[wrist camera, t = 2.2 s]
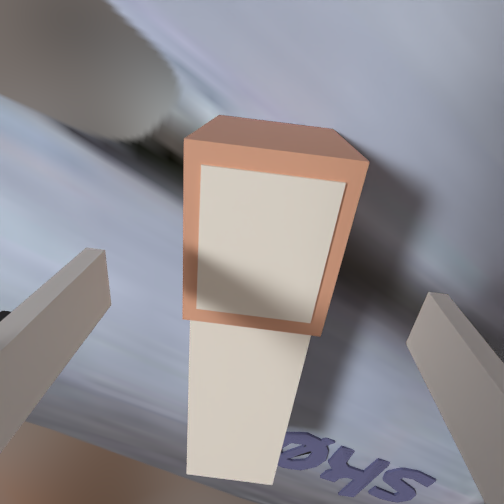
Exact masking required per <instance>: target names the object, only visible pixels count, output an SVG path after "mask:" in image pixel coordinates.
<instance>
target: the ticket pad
mask: <svg viewBox="0 0 504 504" xmlns="http://www.w3.org/2000/svg"><path fill="white" fill-rule="evenodd" d="M310 338H311V335H304V334H296V333H288V332H280V331H272V330H264V329H256V328H248V327H240V326H233V325H225V324H217V323H209V322H201V321H193V320H190V347H189V392H188V438H187V474H190V475H198V476H206V477H214V478H222V479H229V480H237V481H245V482H253V483H261V484H268V485H272V484H273V480H274V476H275V472H276V468H277V465H278V461H279V457H280V453H281V449H282V445H283V442H284V438H285V434H286V430H287V426H288V422H289V419H290V415H291V411H292V407H293V403H294V399H295V396H296V392H297V388H298V384H299V380H300V376H301V373H302V369H303V365H304V361H305V357H306V353H307V350H308V346H309V342H310Z"/></svg>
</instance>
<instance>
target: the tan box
mask: <svg viewBox="0 0 504 504" xmlns="http://www.w3.org/2000/svg"><path fill="white" fill-rule="evenodd" d="M368 166H369V161H368V160H367V159H366V158H365V157H364V156H363V155H361V154H360V153H359V152H358V151H357V150H356V149H355V148H354V147H353V146H351V145H350V144H349V143H348V142H347V141H346V140H345V139H344V138H342V137H341V136H340V135H339V134H338V133H337V132H336V131H335V130H333V129H329V128H321V127H313V126H305V125H297V124H289V123H281V122H273V121H265V120H257V119H249V118H241V117H232V116H224V115H218V116H217V117H215V118H214V119H212V120H211V121H209V122H208V123H206V124H205V125H204V126H202V127H201V128H199V129H198V130H196V131H195V132H193V133H192V134H190V135H189V136H187V137H186V138H184V203H183V319H185V320H193V321H201V322H209V323H217V324H225V325H233V326H240V327H248V328H256V329H264V330H272V331H280V332H288V333H296V334H304V335H311V336H319V337H321V334H322V330H323V326H324V323H325V319H326V316H327V312H328V309H329V305H330V301H331V298H332V294H333V291H334V287H335V284H336V280H337V276H338V273H339V269H340V266H341V262H342V259H343V255H344V252H345V248H346V244H347V241H348V237H349V234H350V230H351V227H352V223H353V219H354V216H355V212H356V209H357V205H358V202H359V198H360V194H361V191H362V187H363V184H364V180H365V177H366V173H367V169H368Z"/></svg>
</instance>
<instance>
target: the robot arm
mask: <svg viewBox="0 0 504 504" xmlns="http://www.w3.org/2000/svg"><path fill="white" fill-rule="evenodd" d="M110 306H111V298H110V289H109V281H108V272H107V263H106V255H105V250H101V249H93V248H85V249H84V250H83V251H82V252H81V253H79V254H78V255H77V256H76V257H75V258H74V259H72V260H71V261H70V262H69V263H68V264H67V265H65V266H64V267H63V268H62V269H61V270H60V271H59V272H57V273H56V274H55V275H54V276H53V277H52V278H50V279H49V280H48V281H47V282H46V283H45V284H43V285H42V286H41V287H40V288H39V289H38V290H36V291H35V292H34V293H33V294H32V295H31V296H29V297H28V298H27V299H26V300H25V301H24V302H23V303H21V304H20V305H19V306H18V307H17V308H16V309H14V310H13V311H12V312H9V311H1V312H0V453H1V452H2V450H3V449H4V448H5V446H6V445H7V444H8V442H9V441H10V440H11V438H12V437H13V436H14V434H15V433H16V431H17V430H18V429H19V427H20V426H21V425H22V423H23V422H24V421H25V420H26V418H27V417H28V416H29V414H30V413H31V412H32V410H33V409H34V407H35V406H36V405H37V403H38V402H39V401H40V399H41V398H42V397H43V395H44V394H45V393H46V391H47V390H48V389H49V387H50V386H51V385H52V383H53V382H54V381H55V379H56V378H57V377H58V375H59V374H60V373H61V371H62V370H63V369H64V367H65V366H66V365H67V363H68V362H69V361H70V359H71V358H72V357H73V355H74V354H75V353H76V351H77V350H78V349H79V347H80V346H81V345H82V343H83V342H84V341H85V339H86V338H87V337H88V335H89V334H90V333H91V331H92V330H93V329H94V327H95V326H96V325H97V323H98V322H99V321H100V319H101V318H102V317H103V315H104V314H105V313H106V311H107V310H108V308H109V307H110ZM406 345H407V347H408V349H409V351H410V353H411V355H412V357H413V359H414V361H415V363H416V365H417V367H418V369H419V371H420V373H421V375H422V377H423V379H424V381H425V383H426V385H427V387H428V389H429V391H430V393H431V395H432V397H433V399H434V401H435V403H436V405H437V407H438V409H439V411H440V413H441V415H442V417H443V419H444V421H445V423H446V425H447V427H448V429H449V431H450V433H451V435H452V437H453V439H454V441H455V443H456V445H457V447H458V449H459V451H460V453H461V455H462V457H463V459H464V461H465V463H466V465H467V467H468V469H469V471H470V473H471V475H472V477H473V479H474V481H475V483H476V485H477V487H478V489H479V491H480V493H481V495H482V497H483V499H484V501H485V503H486V504H504V363H503V362H502V361H501V360H500V358H499V357H498V356H497V355H496V353H495V352H494V351H493V350H492V348H491V347H490V346H489V345H488V344H487V342H486V341H485V340H484V339H483V337H482V336H481V335H480V334H479V332H478V331H477V330H476V329H475V328H474V326H473V325H472V324H471V323H470V321H469V320H468V319H467V318H466V316H465V315H464V314H463V313H462V311H461V310H460V309H459V308H458V307H457V305H456V304H455V303H454V302H453V300H452V299H451V298H450V297H449V295H448V294H441V293H433V292H428V294H427V296H426V299H425V301H424V303H423V305H422V308H421V310H420V312H419V315H418V317H417V319H416V321H415V324H414V326H413V328H412V330H411V333H410V335H409V337H408V340H407V342H406Z"/></svg>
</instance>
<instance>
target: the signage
mask: <svg viewBox="0 0 504 504" xmlns="http://www.w3.org/2000/svg"><path fill="white" fill-rule="evenodd" d="M290 443H295V444H301V446H298V447H296V448H293V449H290V450H287V451H285V452H282V453H280V457H279V461H278V466H280V467H282V468H288V469H295V470H304V469H309V468H314V467H317V466H318V465H320V464H321V463H323V462H324V461H326V458H327V454H328V448H327V445H330V444H333V443H335V440H332V439H329V438H323V439H320V438H318V437H316V436H314V435H312V434H310V433H308V432H286V434H285V438H284V442H283V445H282V448H284V447H285V446H287V445H289V444H290ZM354 452H355V451H354V450H353V449H350V448H347V447H344V446H341V447H340V448H339V449H338V450H337V451H336V452H335V453H334V454H333V455H332V457H331V458H330V459H329V460H328V463H329V465H330V466H331V468H332V469H329V470H326V471H325V472H324V473H322V474H321V475H320V478H323V479H326V480H329V481H332V482H335V481H337V480H338V479H339V478H350V479H353V480H352V481H351V482H350V483H349V484H348V485H346V486H345V487H344V488H343V489H342V490H341V491H340V492H338V495H342V496H349V497H354V496H356V495H357V494H358V493H359V492H360V491H361V490H362V489H363V488H364V487H366V486H367V485H368V484H369V483H370V482H371V481H372V480H373V479H374V478H375V477H377V476H378V475H379V474H380V473H381V472H382V471H383V470H384V469H385V468H387V466H389V464H390V462H388V461H385V460H382V459H379V458H378V459H376V460H375V461H374V462H373V463H372V464H371V465H370V466H368V467H367V468H366V469H365V470H361V469H358V468H355V467H352V466H349V465H347V463H346V462H347V461H348V460H349V458H350V457H351V456H352V454H353V453H354ZM309 453H311V454H310V455H309V456H308V457H307V458H305V459H291V458H292V457H297V456H301V455H305V454H309ZM403 477H404V478H409V479H414V480H415V481H417V482H419V483H421V484H422V485H424V486H426V487H428V486H430V485H431V484H433V483H434V482H435V481H436V479H435V478H433V477H431V476H429V475H427V474H425V473H423V472H421V471H418V470H413V469H408V468H396V469H392V470H388V471H386V472H385V474H384V476H383V481H384V482H386V483H387V484H388V485H390V486H391V487H392V488H393V489H395V490H396V491H397V493H391V492H388V491H386V490H384V489H381V488H379V487H377V486H374V487H373V488H372V489H370V490H369V491H368V492H369V494H371V495H373V496H375V497H377V498H379V499H383V500H388V501H392V502H403V501H408V500H411V499H412V498H413V497H414V496H416V493H415V490H414V488H413V487H411V486H410V485H408V484H407V483H406V482H404V481H403V480H402V478H403Z"/></svg>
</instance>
